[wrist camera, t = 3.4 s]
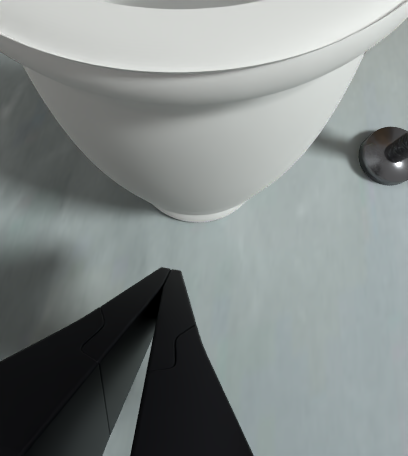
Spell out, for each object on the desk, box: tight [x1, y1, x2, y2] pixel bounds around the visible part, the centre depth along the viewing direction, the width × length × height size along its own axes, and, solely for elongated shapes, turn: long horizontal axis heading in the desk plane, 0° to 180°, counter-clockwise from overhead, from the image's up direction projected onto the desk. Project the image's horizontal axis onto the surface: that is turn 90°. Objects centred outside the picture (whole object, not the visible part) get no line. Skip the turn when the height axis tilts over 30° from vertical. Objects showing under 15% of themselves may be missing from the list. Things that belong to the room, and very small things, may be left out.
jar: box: [0, 0, 408, 222], centre depth 12 cm, size 11×10×15 cm
